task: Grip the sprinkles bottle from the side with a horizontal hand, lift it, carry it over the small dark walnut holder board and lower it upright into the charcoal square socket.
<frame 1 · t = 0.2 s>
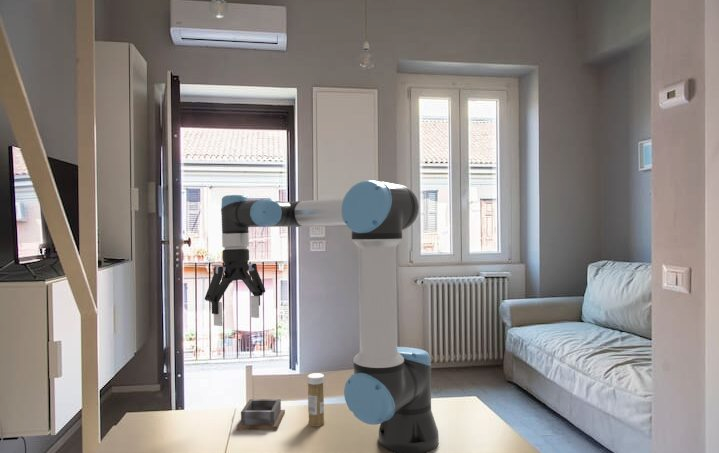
hand: (237, 321, 130), 27 cm above the table, tool pointing down, fingers open, 13 cm apart
sprinkles bottle: (316, 424, 123), on the table
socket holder: (261, 421, 125), on the table
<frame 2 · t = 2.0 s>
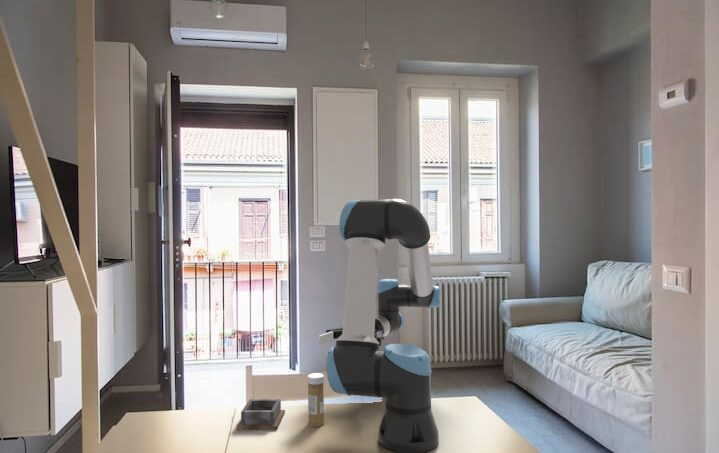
hand: (337, 343, 132), 20 cm above the table, tool horizontal, fingers open, 13 cm apart
nothing on the table moved.
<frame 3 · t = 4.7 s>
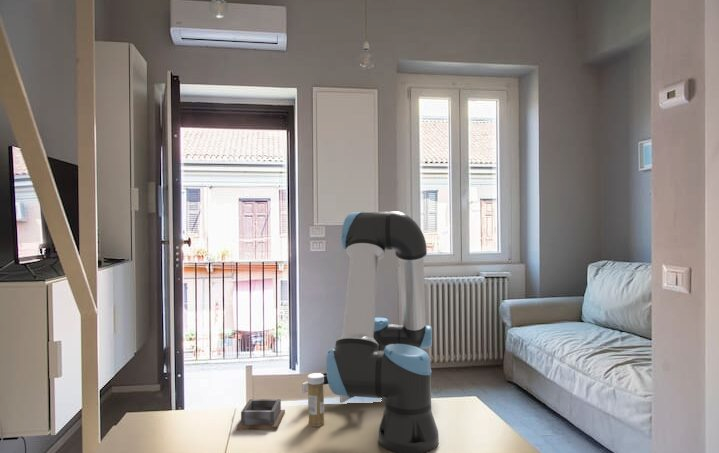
hand: (321, 393, 126), 7 cm above the table, tool horizontal, fingers open, 13 cm apart
nothing on the table moved.
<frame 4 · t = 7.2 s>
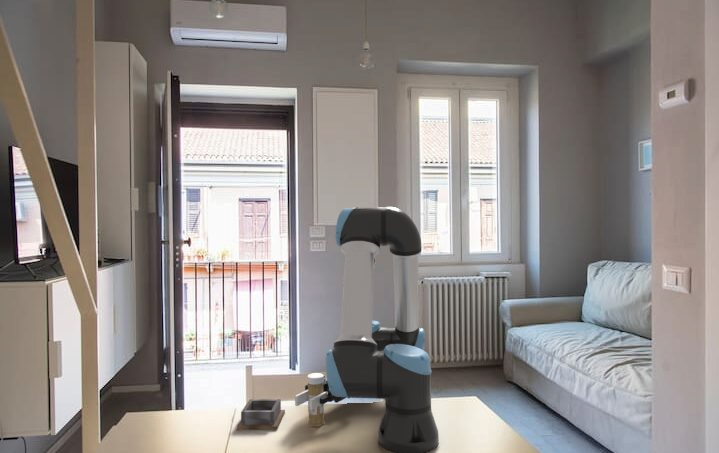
hand: (303, 402, 119), 8 cm above the table, tool horizontal, fingers closed on sprinkles bottle, 4 cm apart
sprinkles bottle: (316, 424, 123), on the table, touching gripper
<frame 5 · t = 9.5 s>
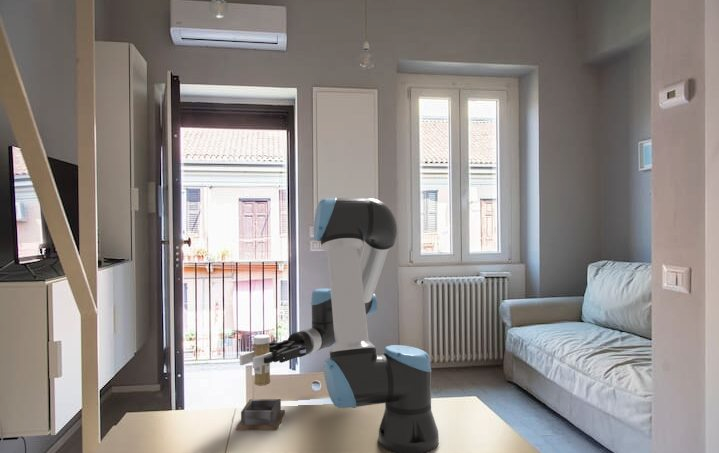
hand: (247, 361, 121), 18 cm above the table, tool horizontal, fingers closed on sprinkles bottle, 4 cm apart
sprinkles bottle: (262, 384, 126), point 10 cm above the table, touching gripper
when the fingers open (10 cm above the table, at t = 12.0 s): sprinkles bottle drops 1 cm, resting on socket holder.
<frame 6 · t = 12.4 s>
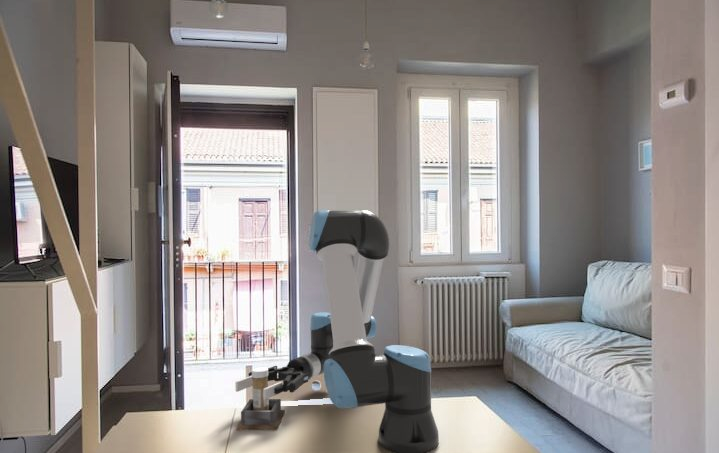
hand: (250, 390, 122), 10 cm above the table, tool horizontal, fingers open, 10 cm apart
sprinkles bottle: (261, 417, 125), point 1 cm above the table, touching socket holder
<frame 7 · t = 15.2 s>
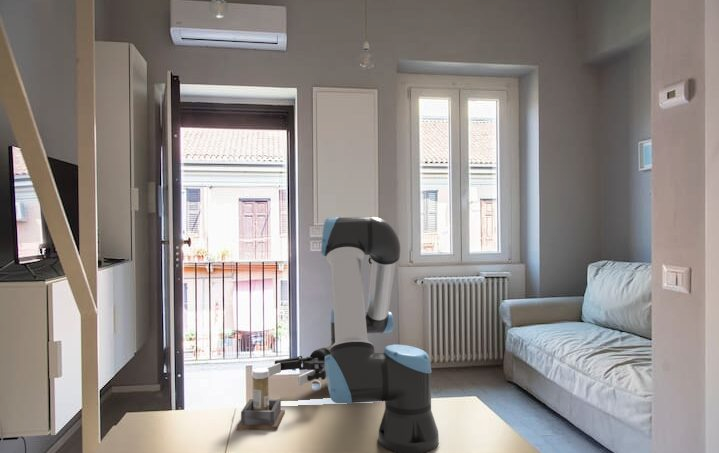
hand: (281, 376, 132), 10 cm above the table, tool horizontal, fingers open, 13 cm apart
nothing on the table moved.
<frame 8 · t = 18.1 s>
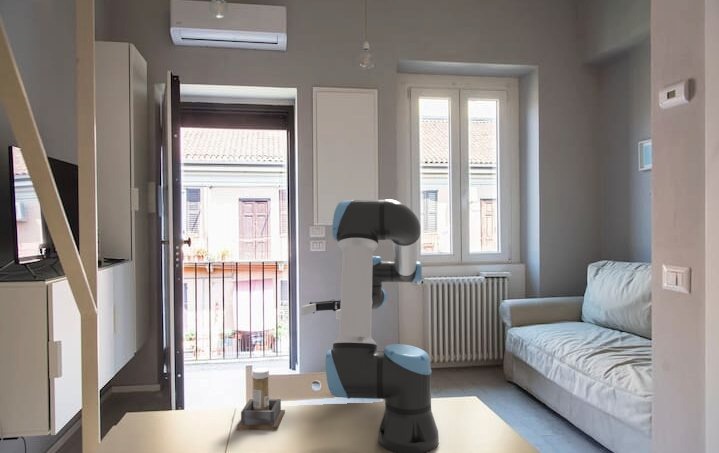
hand: (318, 312, 138), 28 cm above the table, tool horizontal, fingers open, 13 cm apart
nothing on the table moved.
at the end: sprinkles bottle 0.2 cm off-centre on the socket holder, point 0.8 cm above the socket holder's base; sprinkles bottle tilted 0°; the gripper is holding nothing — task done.
